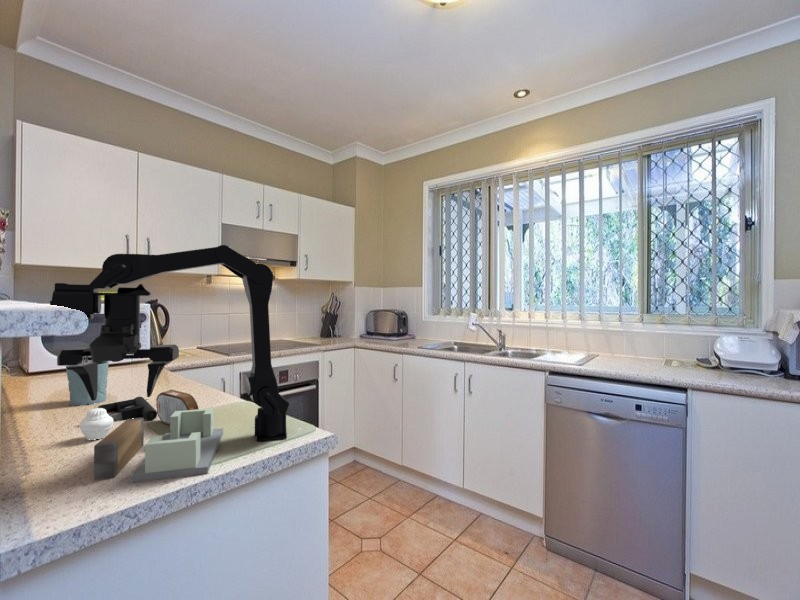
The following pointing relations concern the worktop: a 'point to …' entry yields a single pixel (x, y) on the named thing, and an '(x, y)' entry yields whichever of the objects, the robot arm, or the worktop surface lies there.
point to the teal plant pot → (79, 390)
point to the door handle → (131, 409)
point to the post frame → (181, 447)
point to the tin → (173, 404)
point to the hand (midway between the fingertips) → (122, 398)
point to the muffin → (96, 424)
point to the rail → (118, 448)
